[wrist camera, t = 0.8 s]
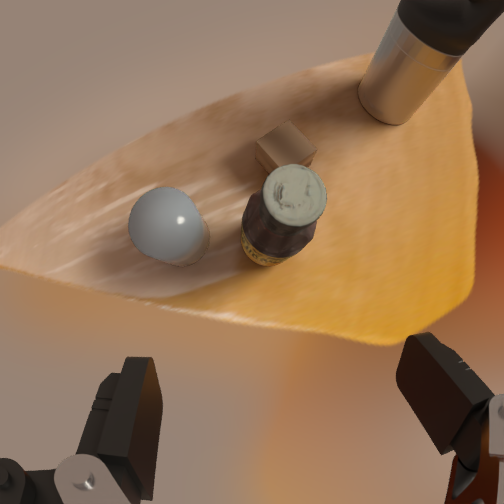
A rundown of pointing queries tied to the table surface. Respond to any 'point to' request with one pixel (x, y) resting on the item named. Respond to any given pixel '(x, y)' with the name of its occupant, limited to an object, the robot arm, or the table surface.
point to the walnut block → (284, 148)
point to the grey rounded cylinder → (168, 227)
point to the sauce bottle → (282, 214)
